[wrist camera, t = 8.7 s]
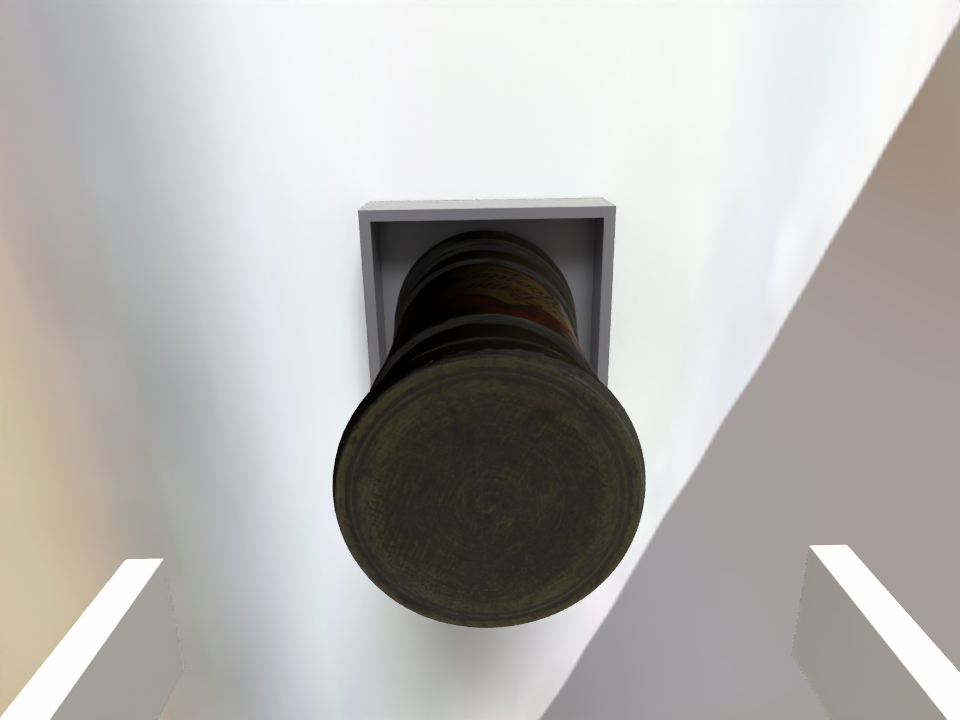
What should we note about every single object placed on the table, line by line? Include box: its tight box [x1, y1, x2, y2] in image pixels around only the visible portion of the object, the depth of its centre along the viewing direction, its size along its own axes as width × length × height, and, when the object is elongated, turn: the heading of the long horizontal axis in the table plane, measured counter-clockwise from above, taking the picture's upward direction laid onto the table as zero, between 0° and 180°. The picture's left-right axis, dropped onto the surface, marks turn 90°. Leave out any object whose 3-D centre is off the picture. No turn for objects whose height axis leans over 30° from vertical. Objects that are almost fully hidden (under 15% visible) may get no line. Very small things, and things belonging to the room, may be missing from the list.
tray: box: [358, 198, 616, 387], centre depth 34 cm, size 12×12×4 cm
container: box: [333, 231, 645, 628], centre depth 26 cm, size 9×9×18 cm
